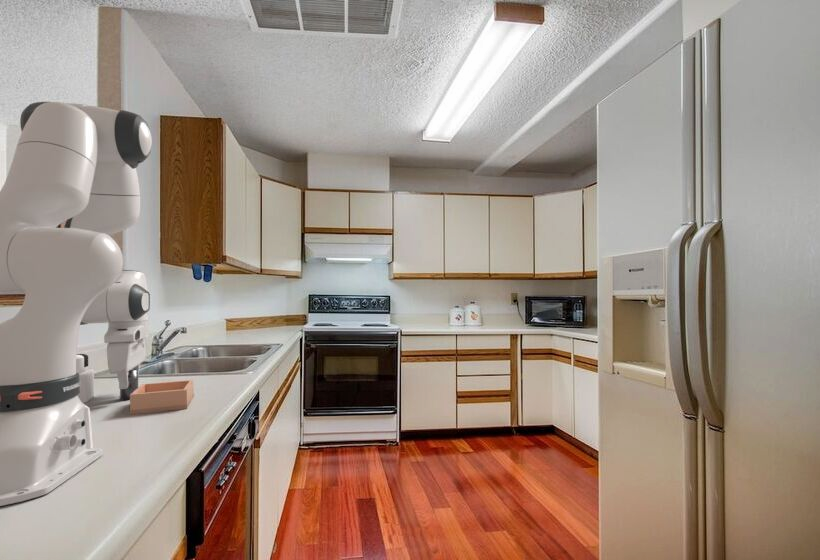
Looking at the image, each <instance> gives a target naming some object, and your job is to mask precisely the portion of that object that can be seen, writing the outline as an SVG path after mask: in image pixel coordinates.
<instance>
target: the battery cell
mask: <svg viewBox="0 0 820 560" xmlns="http://www.w3.org/2000/svg"><path fill="white" fill-rule="evenodd" d="M128 381H129V387H128V388H127V389H120V388H119V400H120V401H121V402H122V401H123V402H124V401H130V394H131V393H133V392H134V391H135V390H136V389H137V388H139V374H138V369H131V370H129V371H128Z"/></svg>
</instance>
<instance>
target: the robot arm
mask: <svg viewBox="0 0 820 560" xmlns="http://www.w3.org/2000/svg"><path fill="white" fill-rule="evenodd" d="M19 121H20V122H19V125H20V129H21V133H20V136H19V139H18V141H17V144H16V148H15V152H14V155H13V158H12V161H11V165H10V166H9V167H10V168H9V169H8V170H9V171H8V174H7V176H6V178H5V181H4V184H3V185H2V188H1V189H0V295H25V296H24V300H23V304H22V306H21V308H20V309H19V310H18V312H17V313H16V314H15V316H13V317H11V318H9V319H7V320H5V321H3V322H1V323H0V507H2V506H8V505H11V504H15V503H20V502H24V501H28V500H31V499H35V498H38V497H41V496H44V495H47V494H48V493H50V492H51V491H53V490H56V488H58V487H59V486H60V485H62V484H63V483H65V482H66V481H68V480H69V479H71V478H72V477H73V476H74V475H76V474H77V473H79V472H80V471H82V470H83V469H85V468H86V467H87V466H89V465H91V464H92V463H93V462H95V461H96V460H97V459H100V458H101V457H102V456H103V455H104V451H103V448H102V447H97V446H94V445H93V433H92V421H91V420H92V419H91V410H90V407H88V405H87V404H85V403H82V402H81V401H80V399H79V397H78V394H79V393H80V379H79V373H77V372H76V355H77V354H78V353H77V351H78V336H79V332H80V331H79V330H80V326H82V325H83V326H84V325H88V324H107V325H108V327H107V331H106V333H105V334H104V336H103V339H104V340H103V342H104V343H105V344H106V357H107V369H108V371H109V373H110V374H111V375H116V377H117V381H118V388H119V390H120V389H127V388H128V387H129V381H128V371H129V370H131V369H138V375H139V372H140V369H141V364H142V363H144V362H145V361H146V358H147V349H146V339H147V338H149V337H150V335H149V334H150V333H149V331H150V329H149V325H150V324H149V316H148V312H149V311H150V308H151V297H150V296H151V294H150V292H149V290H148V289H149V288H148V283H147V282H148V281H147V278H146V277H147V276H146V274H145V273H144V272H142V271H139V270H133V269H123V267H124V256H123V252H122V249H121V248H120V246H119V245H118V243H117V242H116V241H115V239H114V238H112V236H111V235H115V234H116V233H117V234H119V233H120V232H123V231H126V230H128V229H129V228H130V227H132V226H133V225H135V224H136V222H137V221H138V219H139V218H140V215H141V193H140V192H141V190H140V189H141V188H140V182H139V178H138V177H139V176H138V171H137V168H138V166H139V164H141V163H143V162H144V161H146V159H148V158H149V156H150V154H151V150H152V144H153V141H152V140H153V138H152V133H151V130H150V127H149V125H148V123H147V121H146V120H145V119H144V118H143V117H142V116H141V115H140V114H137V113H135V112H132V111H128V110H124V109H123V110H122V109H121V110H117V109H116V110H115V109H111V108H107V107H103V106H102V107H101V106H94V105H89V104H85V103H84V104H83V103H70V102H60V101H37V102H33V103H30V104H29V105H28V106H26V107H25V108H24V109H23V111H21V115H20V120H19ZM64 222H65V224H64V227H58V226H59V225H61V224H62V223H64Z"/></svg>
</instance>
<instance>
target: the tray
mask: <svg viewBox="0 0 820 560" xmlns="http://www.w3.org/2000/svg"><path fill="white" fill-rule="evenodd" d="M194 383H195V382H194V379H188V380H187V379H186V380H176V381H174V380H173V381H163V382H161V381H160V382H151V383H150V382H149V383H142V384H141V385H139V386H138V388H137V389H136V390H135V391H134V392H133V393H131V394H130V400H129V415H137V414H138V415H139V414H149V413H157V412H167V411H168V412H169V411H179V410H187V409H188V407H189V406H190V404H191V402H192V400H193V399H194V397H195V396H194V395H195V394H194V393H195V392H194V389H195V388H194V385H195V384H194Z"/></svg>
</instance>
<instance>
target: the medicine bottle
mask: <svg viewBox="0 0 820 560" xmlns="http://www.w3.org/2000/svg"><path fill="white" fill-rule="evenodd" d="M76 372H77V373H79V379H80V393H79V394H78V397H79V399H80V401H81V402H82V403H83V404H85V403H87V402H88V401H90V400H91V399H92V398H93V397H95V370H94V369H89V355H88V354H86V353H77V355H76Z"/></svg>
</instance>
